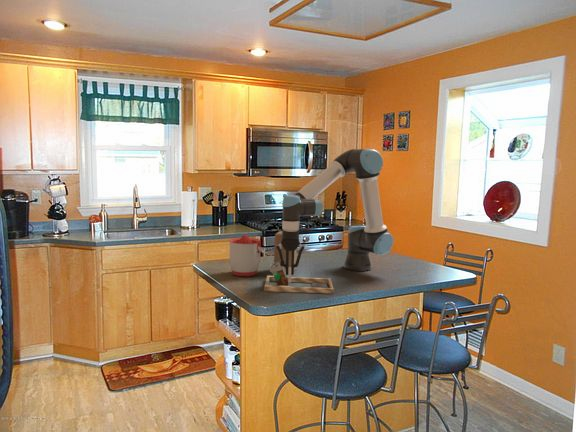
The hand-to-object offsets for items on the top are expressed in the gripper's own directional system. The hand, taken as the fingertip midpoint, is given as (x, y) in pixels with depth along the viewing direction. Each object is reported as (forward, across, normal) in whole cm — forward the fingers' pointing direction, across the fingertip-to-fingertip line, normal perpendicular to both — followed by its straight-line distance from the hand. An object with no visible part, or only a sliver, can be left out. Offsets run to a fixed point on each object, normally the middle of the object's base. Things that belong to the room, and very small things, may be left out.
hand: (289, 281), depth 202 cm
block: (+2, +3, -28) cm, 29 cm away
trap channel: (+2, -4, 0) cm, 5 cm away
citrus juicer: (+2, +22, -20) cm, 29 cm away
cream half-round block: (+2, +3, 0) cm, 4 cm away
